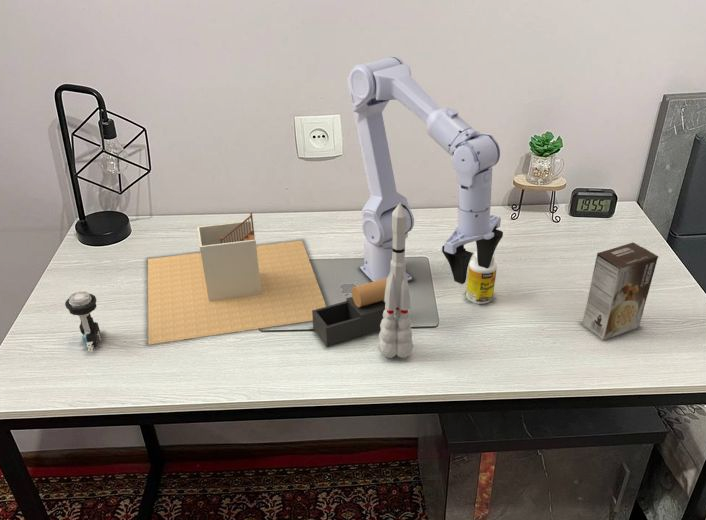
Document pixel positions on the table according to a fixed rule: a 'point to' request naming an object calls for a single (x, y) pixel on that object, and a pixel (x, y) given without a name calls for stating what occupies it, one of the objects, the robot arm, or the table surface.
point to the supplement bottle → (481, 281)
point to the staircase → (230, 286)
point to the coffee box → (619, 290)
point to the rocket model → (397, 296)
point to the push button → (85, 316)
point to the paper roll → (369, 293)
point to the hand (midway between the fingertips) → (471, 274)
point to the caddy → (347, 321)
